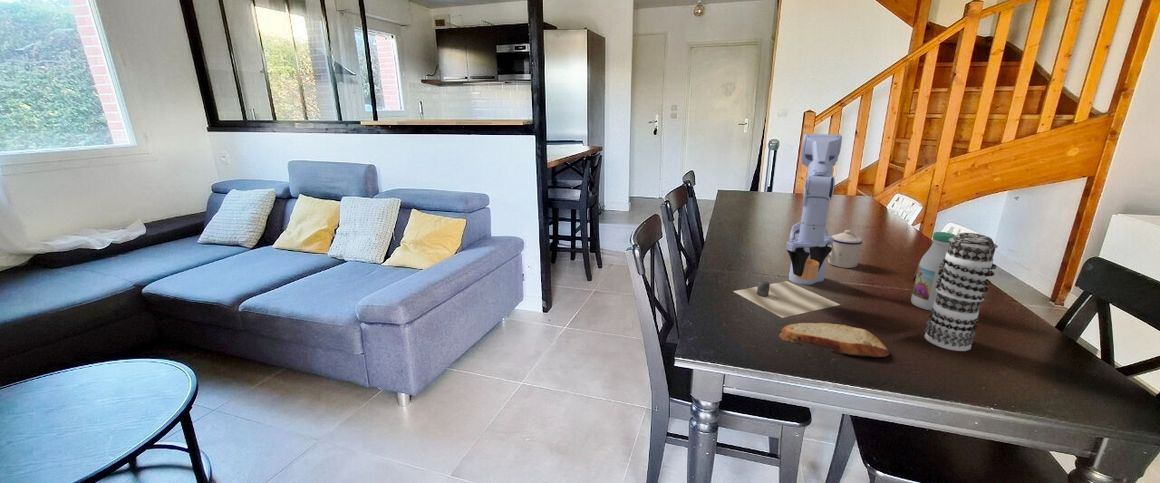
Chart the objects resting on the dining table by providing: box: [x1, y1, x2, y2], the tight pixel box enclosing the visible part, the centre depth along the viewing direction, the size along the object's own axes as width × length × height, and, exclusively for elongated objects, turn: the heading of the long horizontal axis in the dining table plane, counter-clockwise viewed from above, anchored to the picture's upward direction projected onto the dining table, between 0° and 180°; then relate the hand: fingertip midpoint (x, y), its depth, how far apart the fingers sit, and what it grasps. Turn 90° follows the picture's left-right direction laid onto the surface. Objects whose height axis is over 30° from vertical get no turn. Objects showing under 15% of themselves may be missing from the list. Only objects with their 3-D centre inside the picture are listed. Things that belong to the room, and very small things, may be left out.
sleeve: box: [794, 259, 819, 280], centre depth 120 cm, size 5×5×4 cm
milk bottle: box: [910, 231, 956, 311], centre depth 119 cm, size 8×8×20 cm
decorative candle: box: [923, 232, 999, 352], centre depth 100 cm, size 9×9×25 cm
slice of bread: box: [778, 322, 891, 358], centre depth 103 cm, size 18×18×4 cm
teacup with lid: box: [826, 229, 863, 269], centre depth 152 cm, size 12×9×12 cm
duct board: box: [732, 280, 841, 319], centre depth 124 cm, size 20×18×4 cm
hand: (805, 273), depth 120 cm, fingers closed on sleeve, 5 cm apart
